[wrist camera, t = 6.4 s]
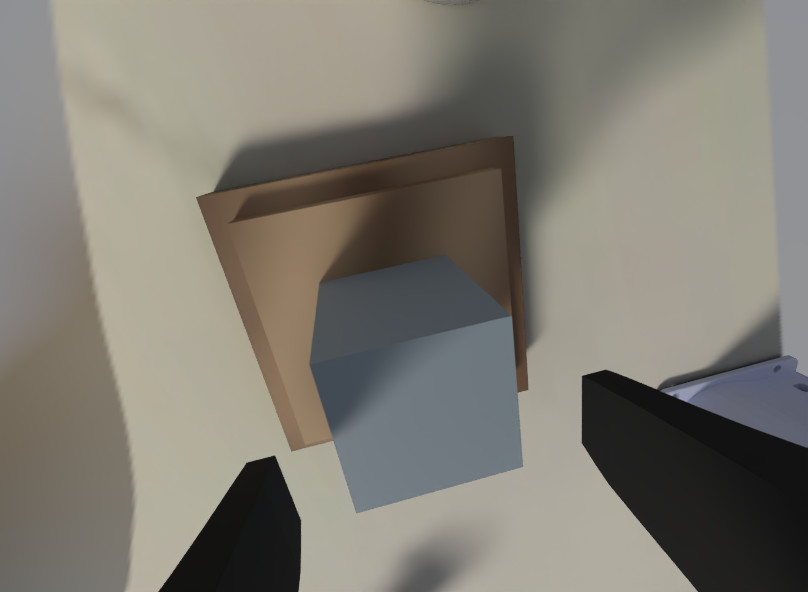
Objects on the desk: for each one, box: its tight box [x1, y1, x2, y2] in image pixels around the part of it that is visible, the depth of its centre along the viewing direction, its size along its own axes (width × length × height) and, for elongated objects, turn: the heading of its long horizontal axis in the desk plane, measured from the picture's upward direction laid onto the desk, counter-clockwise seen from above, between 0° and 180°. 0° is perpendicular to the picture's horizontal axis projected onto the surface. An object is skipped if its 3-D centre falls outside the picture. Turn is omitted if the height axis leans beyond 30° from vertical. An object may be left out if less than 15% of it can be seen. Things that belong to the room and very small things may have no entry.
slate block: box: [309, 255, 523, 513], centre depth 13 cm, size 5×5×6 cm
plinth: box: [196, 136, 528, 451], centre depth 17 cm, size 12×12×3 cm
